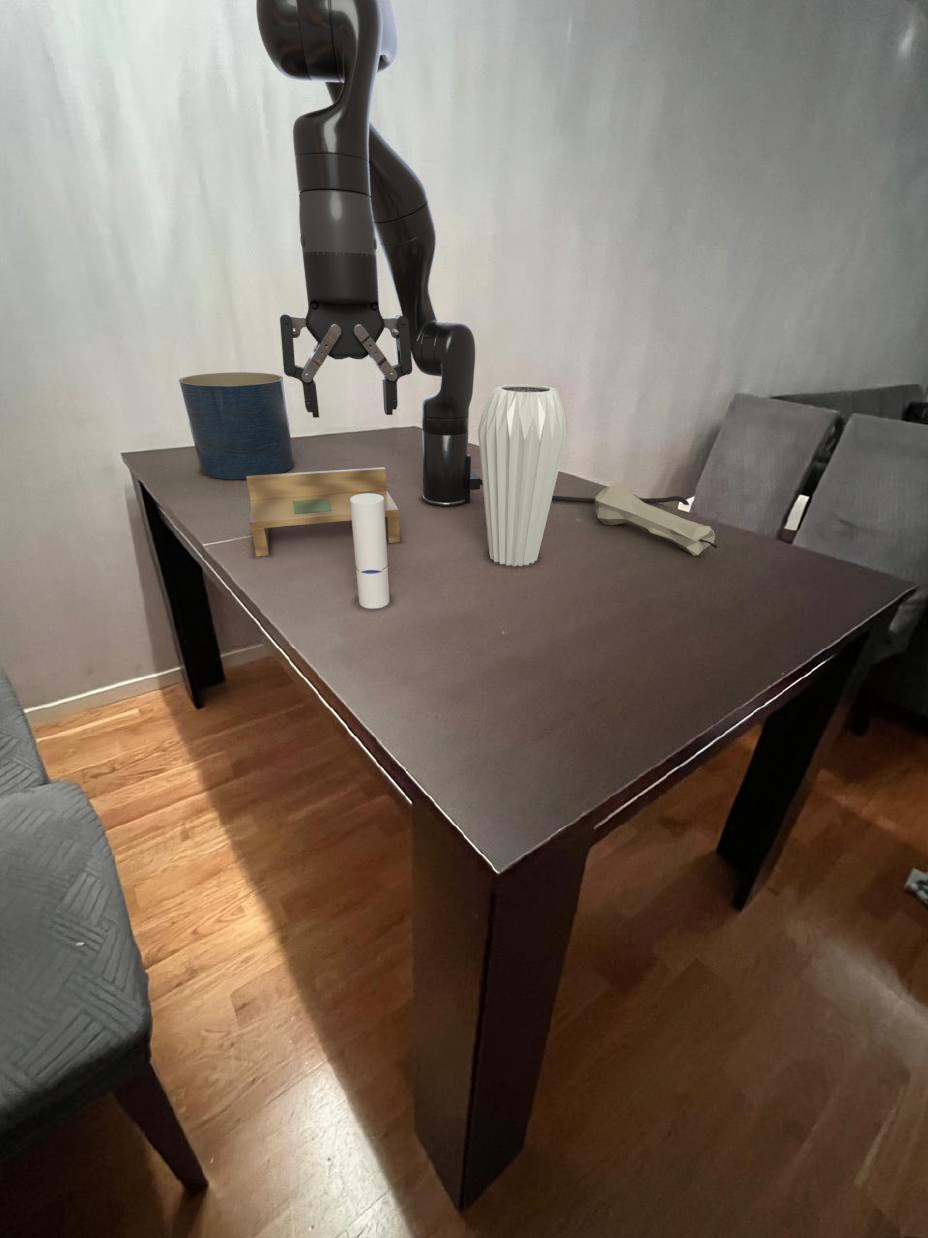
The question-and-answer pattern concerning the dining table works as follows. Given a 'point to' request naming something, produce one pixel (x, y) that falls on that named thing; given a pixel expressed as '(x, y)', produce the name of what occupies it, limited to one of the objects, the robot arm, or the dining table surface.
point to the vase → (520, 467)
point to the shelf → (314, 500)
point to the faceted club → (651, 519)
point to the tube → (370, 549)
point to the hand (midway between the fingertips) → (352, 415)
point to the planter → (238, 423)
